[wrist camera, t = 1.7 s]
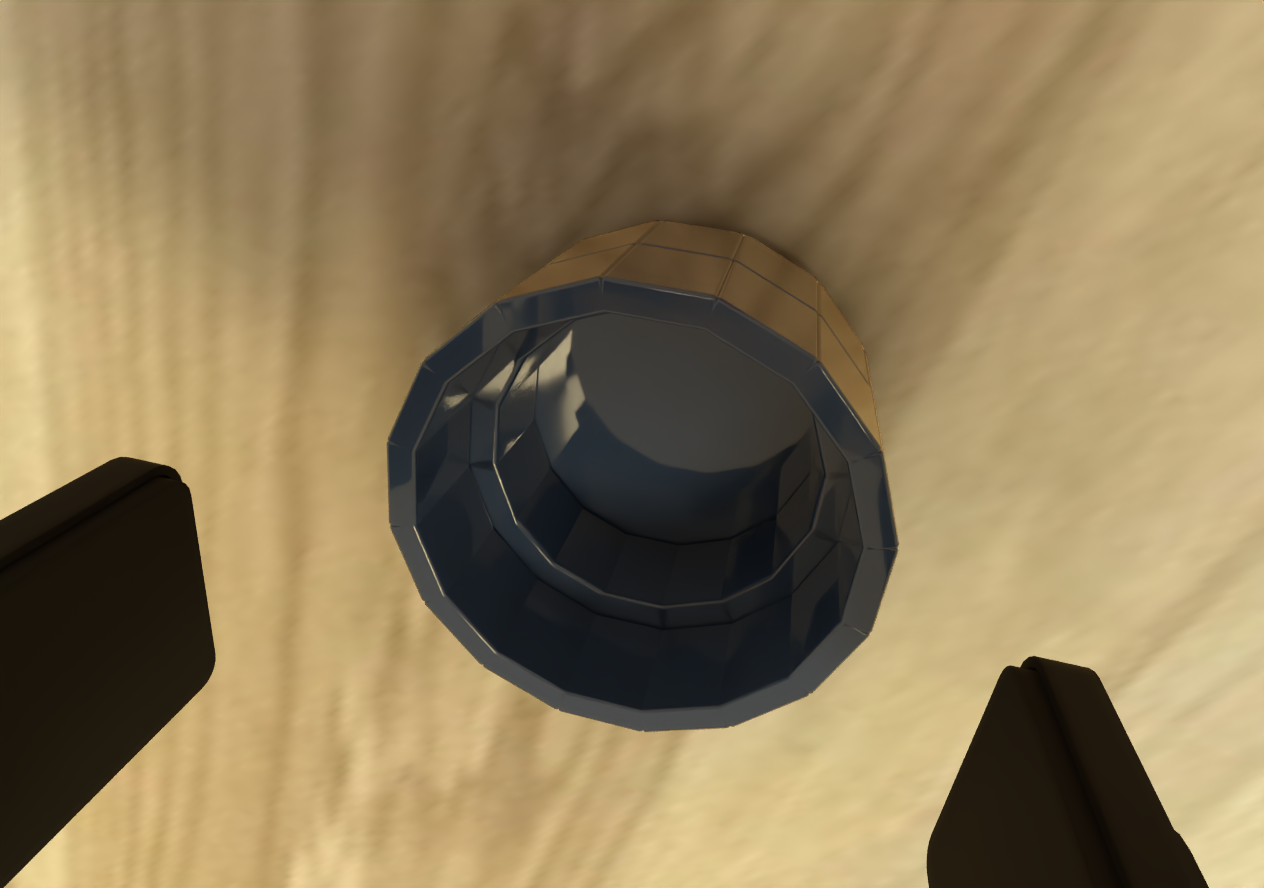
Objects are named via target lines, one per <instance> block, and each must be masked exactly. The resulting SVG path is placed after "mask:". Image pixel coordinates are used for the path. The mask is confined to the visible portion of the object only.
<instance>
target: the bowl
mask: <svg viewBox="0 0 1264 888" xmlns="http://www.w3.org/2000/svg"><path fill="white" fill-rule="evenodd" d="M387 468H388V503H389V523H390V524H391V525H390V528H391V530H392V533H393V535H394V537H395V539H396V542H397V544H398V546H399V549H400V551H401V553H402V555H403V558H404V560H405V562H406V564H407V567H408V569H409V571H410V573H411V576H412V578H413V580H414V582H415V585H416V587H417V589H418V592H419V594H420V596H421V598H422V600H423V601H425V605H426V606H427V607H428V608H429V609H430V610H431V611H432V612H433V614H434V615H435V616H436V617H437V618H438V619H439V620H440V621H441V622H442V623H443V624H444V625H445V627H446V628H447V629H448V630H449V631H450V632H451V633H452V634H453V635H454V636H455V637H456V638H457V640H458V641H459V642H460V643H461V644H462V645H463V646H464V647H465V648H466V649H467V650H468V651H469V653H470V654H471V655H472V656H473V657H474V658H475V659H476V660H477V661H478V662H479V663H480V664H481V665H483V664H484V665H483V666H484V667H485V668H486V669H488V670H489V671H491V672H493V673H495V674H496V675H498V676H500V677H501V678H503V679H505V680H506V681H508V682H510V683H512V684H513V685H515V686H517V687H518V688H520V689H522V690H523V691H525V692H527V693H529V694H530V695H532V696H534V697H535V698H537V699H539V700H540V701H542V702H544V703H546V704H547V705H549V706H551V707H552V708H554V709H558V708H559V711H561V712H565V713H569V714H573V715H577V716H581V717H585V718H589V719H593V720H597V721H601V722H605V723H609V724H612V725H616V726H620V727H624V728H628V729H632V730H636V731H644V732H658V731H678V730H698V729H719V728H728V727H729V726H731V727H734V726H736V725H739V724H741V723H744V722H746V721H748V720H751V719H753V718H756V717H758V716H761V715H763V714H766V713H768V712H770V711H773V710H775V709H778V708H780V707H783V706H785V705H788V704H790V703H792V702H795V701H797V700H800V699H802V698H805V697H807V696H808V695H809V694H811V693H813V692H814V691H815V690H816V689H817V688H818V687H819V686H820V685H821V684H822V683H823V682H824V681H825V680H826V679H827V678H828V677H829V676H830V675H831V674H832V673H833V672H834V671H835V670H836V669H837V668H838V667H839V666H840V665H841V664H842V663H843V662H844V661H845V660H846V659H847V658H848V657H849V656H850V655H851V653H852V652H853V651H854V650H855V649H856V648H857V647H858V646H859V645H860V644H861V643H862V642H863V641H864V640H865V639H866V638H867V637H868V636H869V634H870V632H871V631H872V630H873V627H874V624H875V621H876V618H877V615H878V612H879V609H880V606H881V602H882V599H883V596H884V593H885V590H886V587H887V584H888V581H889V578H890V575H891V572H892V569H893V566H894V563H895V560H896V557H897V554H898V545H899V542H898V535H897V529H896V523H895V517H894V511H893V505H892V499H891V493H890V487H889V481H888V475H887V469H886V463H885V456H884V451H883V445H882V440H881V434H880V428H879V423H878V417H877V412H876V406H875V400H874V395H873V389H872V384H871V378H870V372H869V367H868V361H867V356H866V352H865V350H863V346H862V343H861V341H860V340H859V339H858V337H857V336H856V334H855V333H854V331H853V330H852V328H851V327H850V325H849V324H848V322H847V321H846V319H845V318H844V316H843V315H842V313H841V312H840V311H839V309H838V308H837V306H836V305H835V303H834V302H833V300H832V299H831V297H830V296H829V294H828V293H827V291H826V290H825V288H824V287H823V285H822V284H820V283H818V282H817V279H816V277H814V276H813V275H811V274H809V273H808V272H806V271H805V270H803V269H801V268H800V267H798V266H797V265H795V264H794V263H792V262H790V261H789V260H787V259H786V258H784V257H782V256H781V255H779V254H778V253H776V252H774V251H773V250H771V249H770V248H768V247H767V246H765V245H763V244H762V243H760V242H759V241H757V240H755V239H754V238H752V237H751V236H749V235H745V236H744V235H743V234H741V233H739V232H733V231H727V230H721V229H714V228H708V227H702V226H696V225H690V224H683V223H677V222H671V221H662V222H660V221H659V220H656V221H652V222H649V223H645V224H641V225H637V226H633V227H629V228H625V229H621V230H617V231H613V232H609V233H605V234H602V235H598V236H594V237H590V238H586V239H584V240H582V241H579V242H578V243H576V244H575V245H573V246H572V247H571V248H569V249H568V250H566V251H565V252H564V253H562V254H561V255H559V256H558V257H557V258H555V259H554V260H552V261H551V262H550V263H548V264H547V265H545V266H544V267H543V268H541V269H540V270H539V271H537V272H536V273H534V274H533V275H532V276H530V277H529V278H527V279H526V280H525V281H523V282H522V283H520V284H519V285H518V286H516V287H515V288H513V289H512V290H511V291H509V292H508V293H506V294H505V295H503V296H502V297H501V298H499V299H498V300H496V301H495V302H494V303H492V304H491V305H490V306H489V307H487V308H486V309H485V310H484V311H483V312H481V313H480V314H479V315H478V316H476V317H475V318H474V319H473V320H471V321H470V322H469V323H468V324H466V325H465V326H464V327H463V328H462V329H460V330H459V331H458V332H457V333H455V334H454V335H453V336H452V337H450V338H449V339H448V340H447V341H445V342H444V343H443V344H442V345H441V346H439V347H438V348H437V349H436V350H434V351H433V352H432V353H431V354H429V355H428V356H427V357H426V358H425V359H424V361H423V362H422V363H421V364H420V367H419V369H418V371H417V373H416V376H415V378H414V380H413V382H412V385H411V387H410V389H409V391H408V394H407V396H406V398H405V400H404V403H403V405H402V407H401V409H400V412H399V414H398V416H397V418H396V421H395V423H394V425H393V427H392V430H391V432H390V434H389V436H388V442H387Z"/></svg>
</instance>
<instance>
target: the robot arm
mask: <svg viewBox="0 0 1264 888" xmlns="http://www.w3.org/2000/svg"><path fill="white" fill-rule="evenodd" d="M214 665H215V648H214V642H213V635H212V629H211V622H210V615H209V609H208V602H207V596H206V589H205V583H204V576H203V570H202V563H201V556H200V550H199V543H198V537H197V530H196V524H195V517H194V510H193V504H192V497H191V493H190V490H189V488H188V486H187V485H186V484H185V483H183V482H182V480H181V477H180V475H179V474H178V472H177V471H176V470H175V469H173V468H171V467H169V466H166V465H161V464H157V463H152V462H148V461H143V460H139V459H134V458H130V457H119V458H116V459H113V460H110V461H109V462H107V463H105V464H103V465H101V466H99V467H97V468H96V469H94V470H92V471H90V472H88V473H86V474H85V475H83V476H81V477H79V478H77V479H75V480H74V481H72V482H70V483H68V484H66V485H64V486H63V487H61V488H59V489H57V490H55V491H53V492H52V493H50V494H48V495H46V496H44V497H42V498H40V499H39V500H37V501H35V502H33V503H31V504H29V505H28V506H26V507H24V508H22V509H20V510H18V511H17V512H15V513H13V514H11V515H9V516H7V517H6V518H4V519H2V520H0V888H4V887H5V886H6V885H7V884H8V883H9V882H10V881H11V880H12V879H13V878H14V877H15V876H16V875H17V874H18V873H19V872H20V871H21V870H22V869H23V868H24V867H25V866H26V865H27V864H28V863H29V861H30V860H31V859H32V858H33V857H34V856H35V855H36V854H37V853H38V852H39V851H40V850H41V849H42V848H43V847H44V846H45V845H46V844H47V843H48V842H49V841H50V840H51V839H52V838H53V837H54V836H55V835H56V834H57V833H58V832H59V831H60V830H61V829H62V828H63V827H64V826H65V825H66V824H67V823H68V822H69V821H70V820H71V819H72V818H73V817H74V816H75V815H76V814H77V813H78V812H79V811H80V810H81V809H82V808H83V807H84V806H85V805H86V804H87V803H88V802H89V801H90V800H91V799H92V798H93V797H94V796H95V795H96V794H97V793H98V792H99V791H100V790H101V789H102V788H103V787H104V786H105V785H106V784H107V783H108V782H109V781H110V780H111V779H112V778H113V777H114V776H115V775H116V774H117V773H118V772H119V771H120V770H121V769H122V768H123V767H124V766H125V765H126V764H127V763H128V762H129V761H130V760H131V759H132V758H133V757H134V756H135V755H136V754H137V753H138V752H139V751H140V750H141V749H142V748H143V747H144V746H145V745H146V744H147V743H148V742H149V741H150V740H151V739H152V738H153V737H154V736H155V735H156V734H157V733H158V732H159V731H160V730H161V729H162V728H163V727H164V726H165V725H166V724H167V723H168V722H169V721H170V720H171V719H172V718H173V717H174V716H175V715H176V714H177V713H178V712H179V711H180V710H181V709H182V708H183V707H184V706H185V705H186V704H187V703H188V702H189V701H190V700H191V699H192V698H193V697H194V696H195V695H196V694H197V693H198V692H199V691H200V690H201V689H202V688H203V687H204V685H205V684H206V683H207V682H208V680H209V678H210V676H211V674H212V672H213V669H214ZM927 876H928V883H929V888H1209V887H1208V885H1207V883H1206V881H1205V879H1204V877H1203V875H1202V873H1201V871H1200V869H1199V867H1198V865H1197V863H1196V861H1195V859H1194V857H1193V855H1192V853H1191V851H1190V849H1189V848H1188V846H1187V845H1186V843H1185V842H1184V840H1183V839H1182V837H1181V836H1180V834H1179V833H1177V832H1176V831H1175V830H1174V829H1173V827H1172V825H1171V823H1170V821H1169V818H1168V816H1167V814H1166V812H1165V810H1164V808H1163V806H1162V804H1161V802H1160V800H1159V798H1158V796H1157V794H1156V792H1155V790H1154V788H1153V786H1152V784H1151V782H1150V780H1149V778H1148V776H1147V774H1146V772H1145V770H1144V768H1143V766H1142V764H1141V761H1140V759H1139V757H1138V755H1137V753H1136V751H1135V749H1134V747H1133V745H1132V743H1131V741H1130V739H1129V737H1128V735H1127V733H1126V731H1125V729H1124V727H1123V725H1122V723H1121V721H1120V719H1119V717H1118V715H1117V713H1116V711H1115V709H1114V707H1113V704H1112V702H1111V700H1110V698H1109V696H1108V694H1107V692H1106V690H1105V688H1104V686H1103V684H1102V682H1101V680H1100V678H1099V677H1098V675H1097V674H1096V673H1095V671H1093V670H1091V669H1089V668H1086V667H1081V666H1077V665H1072V664H1068V663H1063V662H1059V661H1054V660H1049V659H1045V658H1040V657H1036V656H1032V657H1028V658H1027V659H1026V660H1025V661H1024V662H1023V663H1022V665H1021V667H1015V666H1007V667H1006V668H1005V669H1004V670H1003V671H1002V673H1001V675H1000V677H999V679H998V681H997V684H996V686H995V688H994V691H993V693H992V695H991V698H990V700H989V702H988V705H987V707H986V709H985V712H984V714H983V716H982V719H981V721H980V723H979V726H978V728H977V730H976V732H975V735H974V737H973V739H972V742H971V744H970V746H969V749H968V751H967V753H966V756H965V758H964V760H963V763H962V765H961V767H960V770H959V772H958V774H957V777H956V779H955V781H954V784H953V786H952V788H951V791H950V793H949V795H948V797H947V800H946V802H945V804H944V807H943V809H942V811H941V814H940V816H939V818H938V821H937V823H936V825H935V828H934V830H933V832H932V835H931V838H930V841H929V845H928V851H927Z"/></svg>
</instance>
